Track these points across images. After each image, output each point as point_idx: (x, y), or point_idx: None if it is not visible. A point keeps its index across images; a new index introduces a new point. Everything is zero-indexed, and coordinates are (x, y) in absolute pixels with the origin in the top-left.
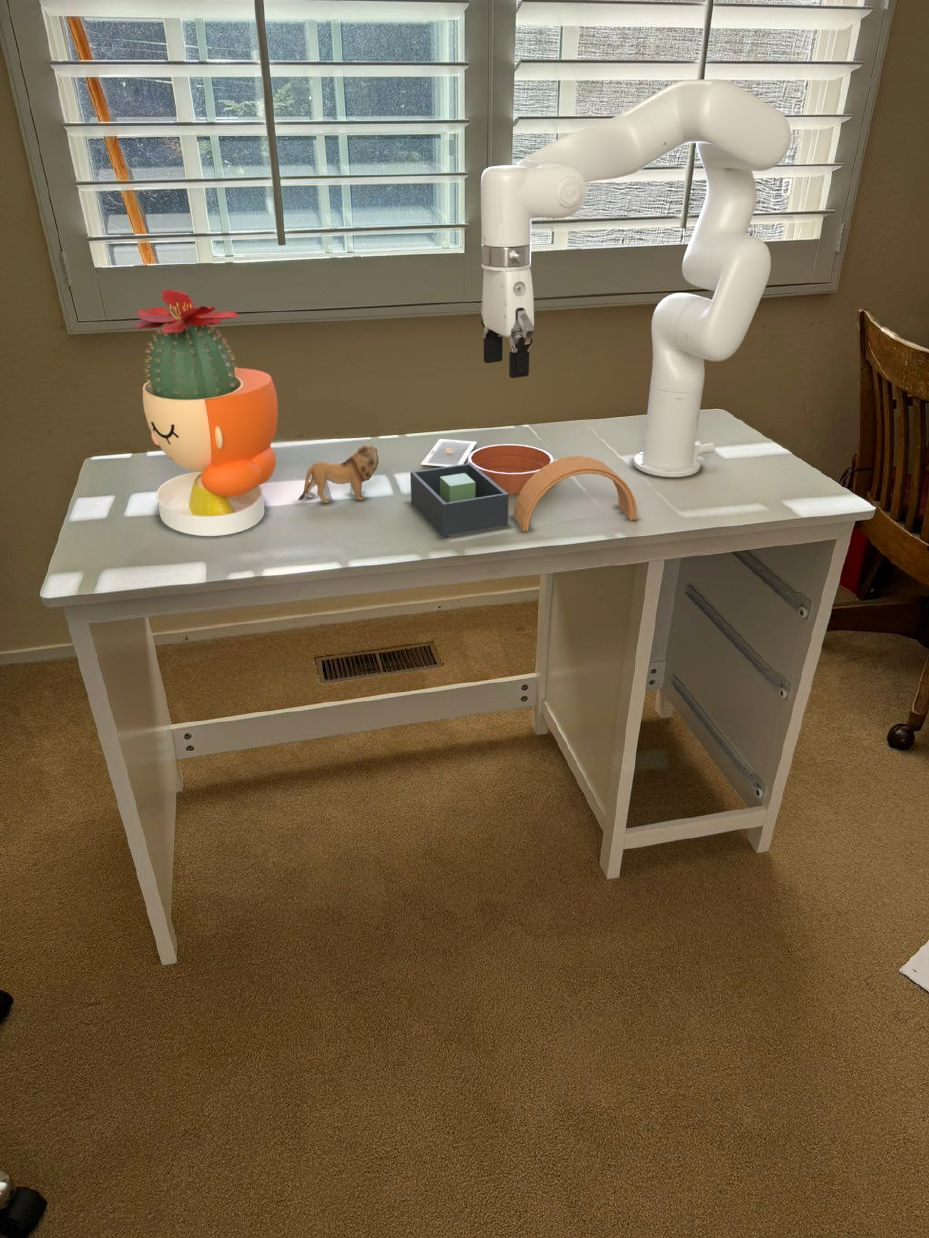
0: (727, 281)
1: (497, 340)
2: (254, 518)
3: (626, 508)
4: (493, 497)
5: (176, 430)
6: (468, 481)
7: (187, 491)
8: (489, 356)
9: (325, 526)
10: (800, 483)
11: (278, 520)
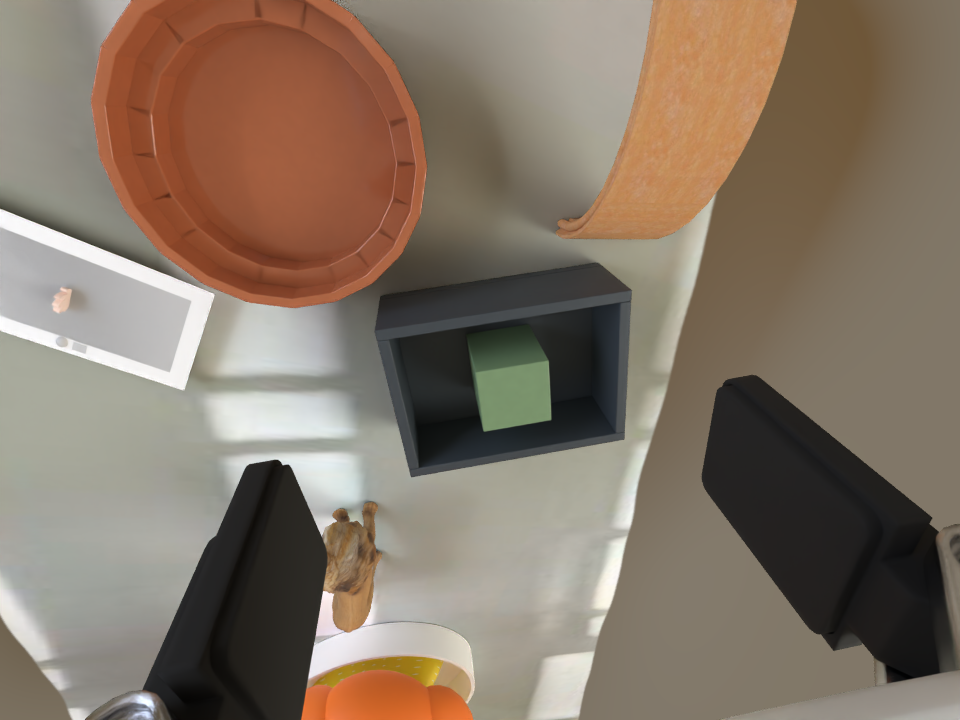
0: None
1: (251, 665)
2: (446, 637)
3: None
4: (628, 330)
5: None
6: (537, 375)
7: None
8: (315, 577)
9: (479, 553)
10: None
11: (436, 605)
